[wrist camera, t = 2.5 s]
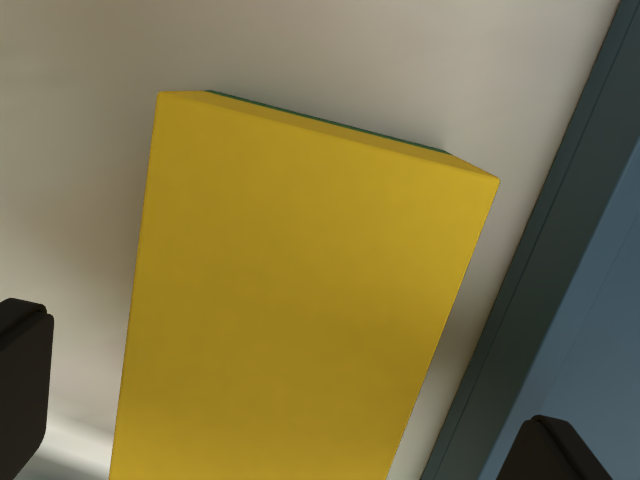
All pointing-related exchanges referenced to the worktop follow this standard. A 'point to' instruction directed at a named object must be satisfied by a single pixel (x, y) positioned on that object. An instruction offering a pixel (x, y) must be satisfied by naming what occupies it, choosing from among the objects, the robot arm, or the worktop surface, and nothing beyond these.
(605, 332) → the tray
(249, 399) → the sponge
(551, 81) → the worktop surface
